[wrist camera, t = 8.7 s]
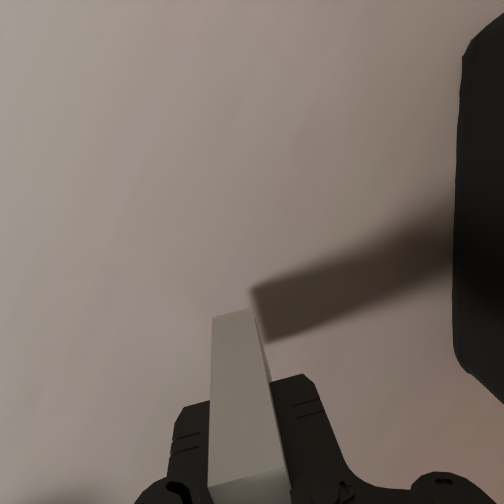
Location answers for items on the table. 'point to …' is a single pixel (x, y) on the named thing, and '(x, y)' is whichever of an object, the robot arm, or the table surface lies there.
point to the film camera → (480, 212)
